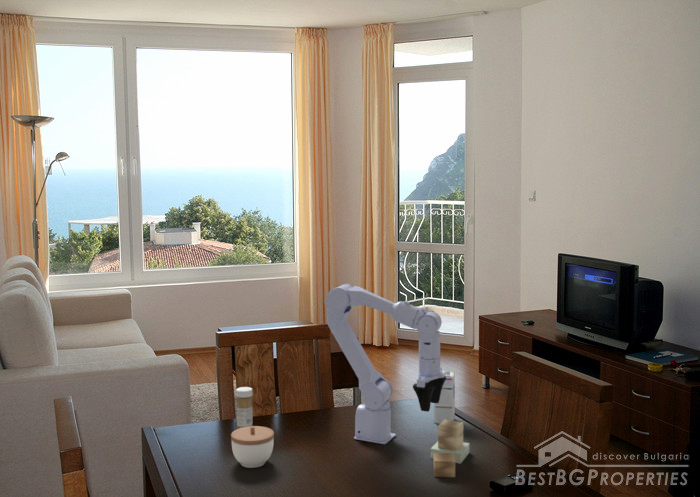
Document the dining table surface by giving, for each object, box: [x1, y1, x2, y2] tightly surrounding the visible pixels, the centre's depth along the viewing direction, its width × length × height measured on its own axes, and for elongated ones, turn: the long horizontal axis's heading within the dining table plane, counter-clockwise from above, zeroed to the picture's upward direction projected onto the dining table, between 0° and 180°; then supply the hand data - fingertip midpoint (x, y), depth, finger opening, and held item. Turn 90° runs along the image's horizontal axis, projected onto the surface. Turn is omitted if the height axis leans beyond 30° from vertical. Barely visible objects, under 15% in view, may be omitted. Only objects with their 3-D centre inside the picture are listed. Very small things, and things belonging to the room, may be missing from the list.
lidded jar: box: [230, 425, 275, 469], centre depth 173 cm, size 11×11×9 cm
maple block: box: [437, 419, 465, 451], centre depth 178 cm, size 5×5×6 cm
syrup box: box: [433, 370, 456, 425], centre depth 205 cm, size 6×6×14 cm
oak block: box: [432, 453, 456, 478], centre depth 168 cm, size 5×5×4 cm
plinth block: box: [429, 440, 470, 465], centre depth 179 cm, size 8×8×3 cm
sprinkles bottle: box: [235, 386, 254, 430], centre depth 192 cm, size 5×5×13 cm
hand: (430, 406), depth 186 cm, fingers open, 7 cm apart
